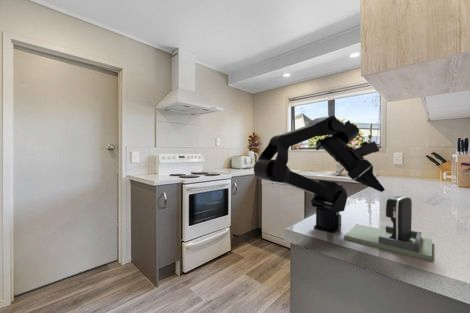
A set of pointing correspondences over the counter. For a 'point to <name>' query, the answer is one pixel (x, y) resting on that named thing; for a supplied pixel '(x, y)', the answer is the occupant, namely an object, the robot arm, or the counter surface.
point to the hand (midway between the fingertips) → (381, 188)
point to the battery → (400, 217)
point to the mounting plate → (391, 241)
